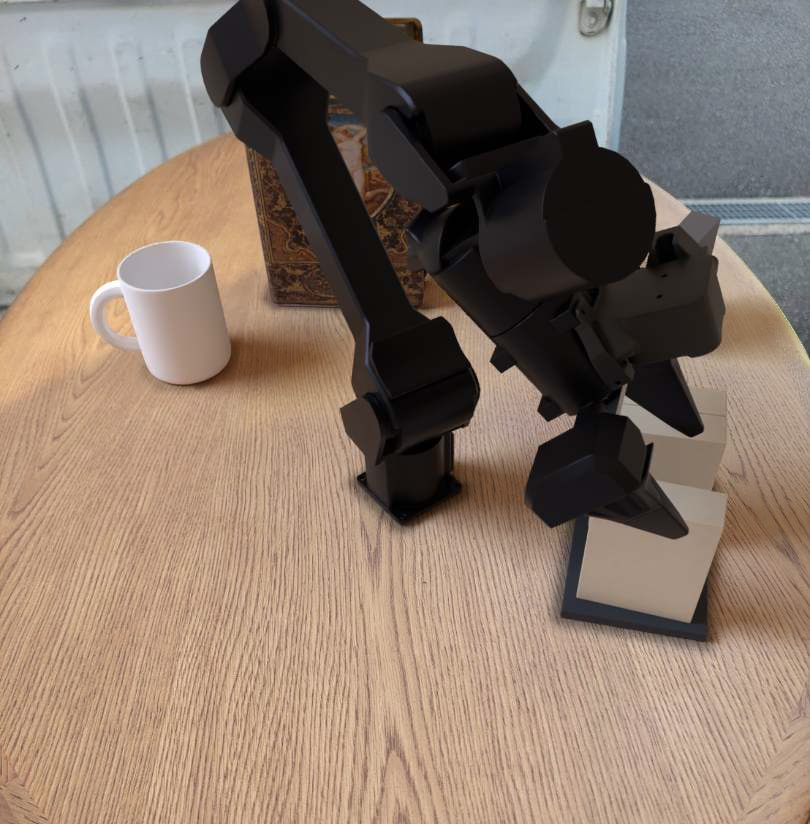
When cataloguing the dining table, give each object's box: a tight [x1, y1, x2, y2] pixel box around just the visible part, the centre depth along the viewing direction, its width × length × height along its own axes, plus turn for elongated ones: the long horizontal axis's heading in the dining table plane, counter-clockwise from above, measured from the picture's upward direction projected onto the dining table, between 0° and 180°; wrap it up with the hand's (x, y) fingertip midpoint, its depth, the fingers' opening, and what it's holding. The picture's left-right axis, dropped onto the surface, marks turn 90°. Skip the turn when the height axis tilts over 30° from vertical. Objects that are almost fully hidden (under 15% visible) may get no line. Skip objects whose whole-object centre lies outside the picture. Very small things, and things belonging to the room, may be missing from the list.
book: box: [243, 16, 428, 309], centre depth 82 cm, size 16×6×25 cm, turn 84°
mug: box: [89, 240, 232, 386], centre depth 80 cm, size 12×8×10 cm
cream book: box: [576, 480, 729, 623], centre depth 59 cm, size 8×3×10 cm, turn 72°
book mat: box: [560, 385, 728, 642], centre depth 63 cm, size 10×16×11 cm, turn 166°
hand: (690, 481), depth 53 cm, fingers open, 9 cm apart
